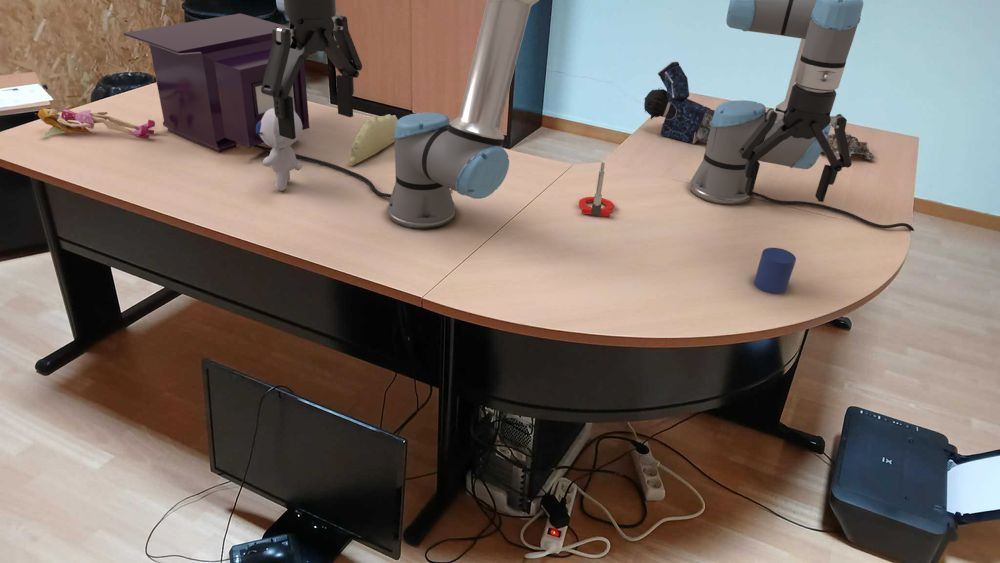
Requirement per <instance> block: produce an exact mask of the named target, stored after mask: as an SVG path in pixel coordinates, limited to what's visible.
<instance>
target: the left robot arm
mask: <svg viewBox="0 0 1000 563" xmlns="http://www.w3.org/2000/svg"><path fill="white" fill-rule="evenodd" d="M539 1H540V0H486V3H485V6H484V11H483V15H482V17H481V18H482V19H481V23H480V27H479V30H478V31H479V32H478V35H477V39H476V43H475V47H474V51H473V56H472V60H471V64H470V68H469V73H468V76H467V79H466V80H467V81H466V84H465V89H464V93H463V97H462V101H461V105H460V109H459V114H458V116H457V117H456V118H454V119H452V120H450V118H449V116H448V115H447V114H444V113H441V112H417V113H410V114H406V115H404V116H401V117H400V118H399V119H398V121H397V123H396V126H395V136H394V140H395V142H394V165H395V166H394V168H395V169H394V170H395V183H394V186H393V189H392V191H391V193H385V192H381V191H380V190H377V188H376V187H375V185H374V184H373V182H372V181H371V180H370V179H368V178H367V177H365V176H363V175H361V174H359V173H357V172H354V171H353V170H350V169H348V168H345V167H342V166H340V165H337V164H334V163H330V162H328V161H324V160H320V159H316V158H314V157H310V156H306V155H301V154H297V153H295V156H296V159H300V160H305V161H309V162H312V163H316V164H320V165H323V166H326V167H330V168H333V169H336V170H337V171H340V172H341V171H342V172H344V173H346V174H348V175H351V176H353V177H356V178H358V179H359V180H362V181H364V182H365V183H366V184H367V185H369V187H370V189H371V190H372V192H374V194H376V195H377V196H380V197H383V198H389V201H388V206H387V215H388V218H389V219H390V220H391V222H393V223H395V224H397V225H398V226H401V227H405V228H409V229H416V230H417V229H418V230H428V229H429V230H430V229H436V228H440V227H444V226H446V225H449V223H451V222H452V221H453V220H454V219H455V217H456V205H455V201H454V200H453V195H452V194H453V191H455V192H456V193H458V194H459V195H461V196H467V197H469V198H472V199H474V200H475V199H476V200H480V199H481V200H482V199H484V198H487V197H489V196H490V195H492V194H493V193H494V192H495V191H496V190H498V189H499V188H500V187H501V185H502V184H503V183H504V181H505V180H506V179H505V178H506V176H507V174H508V171H509V168H510V159H509V154H508V152H507V151H506V150H505V149H504V147H503V146H504V145H503V144H504V140H505V135H504V133H503V131H502V130H501V123H502V119H503V114H504V111H505V108H506V104H507V101H508V100H507V99H508V96H509V92H510V88H511V84H512V80H513V77H514V73H515V69H516V65H517V62H518V59H519V54H520V50H521V47H522V42H523V39H524V34H525V31H526V27H527V23H528V21H529V20H528V19H529V16H530V12H531V7H533V5H535V4H536V3H538V2H539ZM336 3H337V2H336V0H283V8H284V13H285V15H286V16H287V18H288V26H287V27H288V28H280V27H276V26H275V27H274V28H273V30H272V39H273V43H272V47H271V51H270V55H269V59H268V63H267V67H266V71H265V75H264V79H263V83H262V87H261V92H262V93H263V94H266V95H269V96H272V97H273V100H274V110H275V116H276V117H277V118H278V125H279V135H280V136H283V137H286V138H289V139H292V140H293V139H295V138H296V134H295V122H294V110H293V98H292V97H290V96H288V94H289V92H290V90H291V88H292V85H293V83H294V81H295V79H296V77H297V74H298V72H299V70H300V68H301V65H302V63H303V61H304V62H305V60H308V58H309V56H310V55H313V54H316V53H318V52H324V54H325V55H326V57H327V58H328V59H329V60H330V62H331V63H332V64H333V66H334V67H335V68H336V70H337V71H338V73H339V74H337V75H335V82H336V102H337V103H336V104H337V115H341V116H344V117H348V118H352V117H354V102H353V101H354V100H353V99H354V98H353V95H354V94H355V92H354V91H355V89H354V88H355V86H354V85H355V84H354V78H355V79H357V78H359V76H360V72H361V71H362V69H363V64H362V61H361V59H360V56H359V53H358V51H357V48H356V46H355V44H354V41H353V39H352V35H351V33H350V31H349V24H348V18H347V16H346V15H345V16H344V15H340V14H337V13H336V12H337V5H336ZM270 86H271V87H270ZM281 87H282V89H280V88H281ZM252 148H255V149H259V150H263V151H267V152H271V150H272V148H273V147H269V146H263V145H261V144H259V145H256V146H253V147H252Z"/></svg>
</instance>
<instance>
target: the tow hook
mask: <svg viewBox="0 0 1000 563" xmlns="http://www.w3.org/2000/svg"><path fill="white" fill-rule="evenodd" d="M605 164H606V163H605V162H601V163H600V168H599V169H600V170H599V171H598V177H597V184H596V189H595V190H596V191H595V193H594V196H586V197H583V198H580V200H579V201H578V207H579V208H581V214H587V215H591V216H597V217H598V216H601V217H611V212H613V211H614V209H615V204H614V203H613V202H612V201H611V200H609V199H607V198H603V195H602V192H603V191H602V190H603V184H604V177H605V171H604V170H605ZM587 203H592V204H591V206H590V205H588V204H587ZM602 204H603V205H605V207H602Z"/></svg>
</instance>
